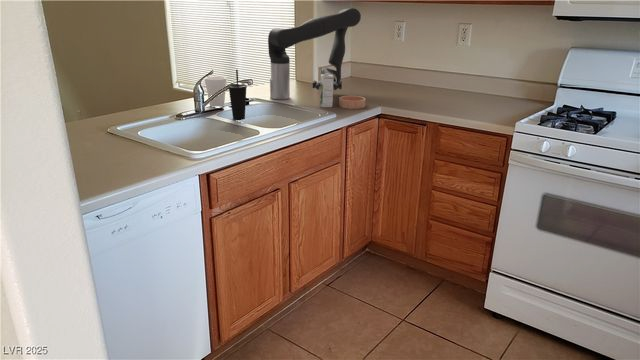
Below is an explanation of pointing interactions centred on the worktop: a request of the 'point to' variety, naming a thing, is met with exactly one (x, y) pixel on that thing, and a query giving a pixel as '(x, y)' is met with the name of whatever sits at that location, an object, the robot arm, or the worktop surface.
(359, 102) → the terracotta bowl
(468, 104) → the worktop surface
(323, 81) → the syrup box
